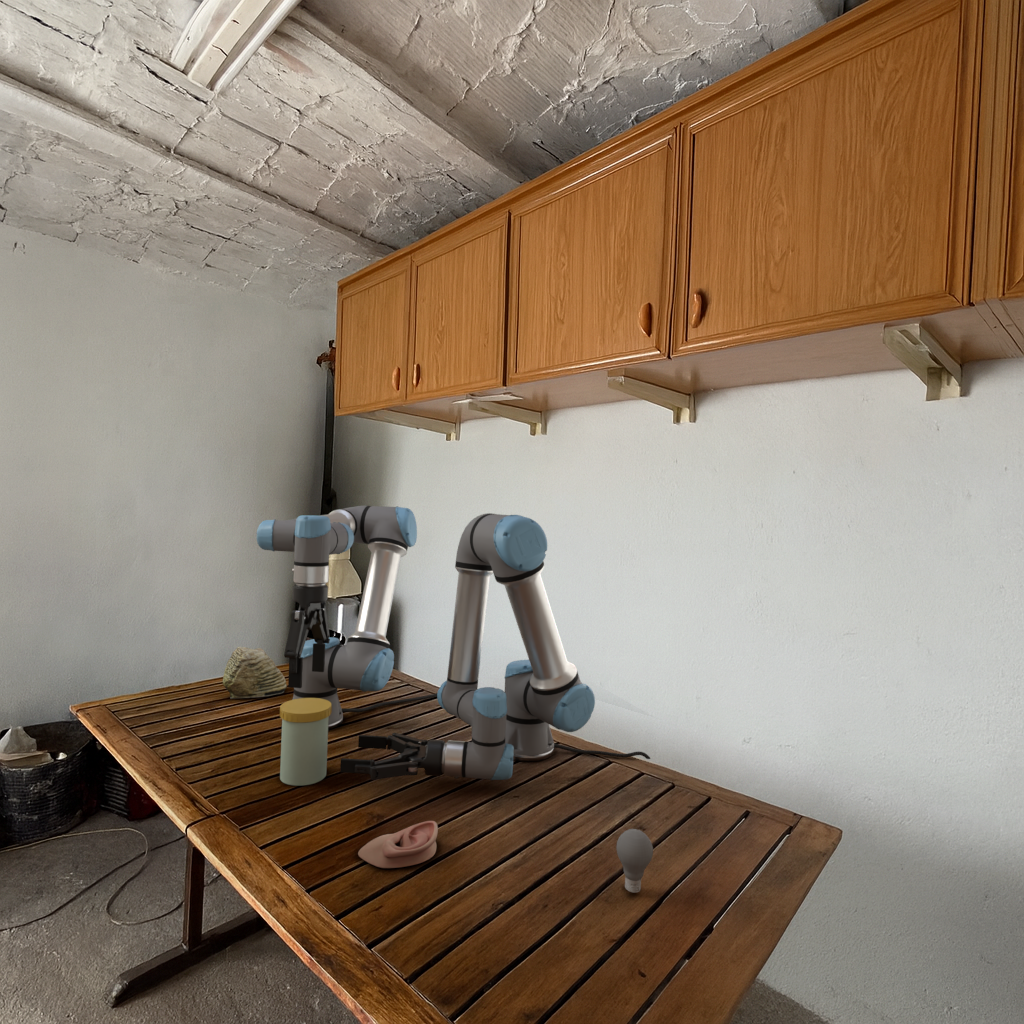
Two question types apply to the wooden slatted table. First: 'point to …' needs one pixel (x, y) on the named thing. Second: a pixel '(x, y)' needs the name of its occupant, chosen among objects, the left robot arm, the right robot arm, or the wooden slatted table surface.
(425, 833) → the anatomical model
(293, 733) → the jar
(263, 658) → the fossil
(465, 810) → the wooden slatted table surface
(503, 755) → the right robot arm
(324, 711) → the lid
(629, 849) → the light bulb
